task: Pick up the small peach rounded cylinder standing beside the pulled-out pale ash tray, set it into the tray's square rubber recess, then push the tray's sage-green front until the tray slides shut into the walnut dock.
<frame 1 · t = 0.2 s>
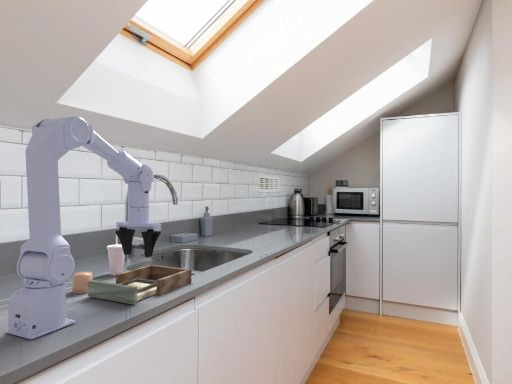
hand: (137, 255, 96), 10 cm above the counter, fingers open, 7 cm apart
tray: (131, 285, 93), point 2 cm above the counter, slide at 8.0 cm
dock: (153, 285, 101), on the counter
smoothie: (116, 274, 115), on the counter
peach rounded cylinder: (82, 291, 95), on the counter
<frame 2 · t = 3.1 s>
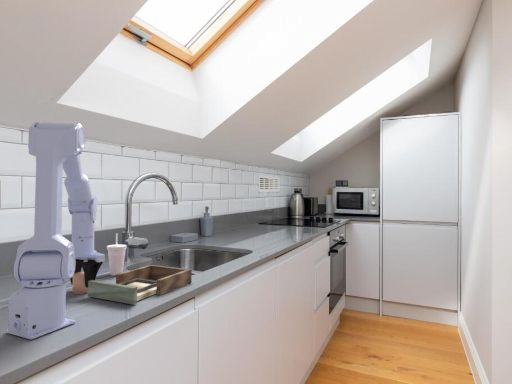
hand: (82, 285, 95), 2 cm above the counter, fingers closed on peach rounded cylinder, 5 cm apart
peach rounded cylinder: (82, 291, 95), on the counter, touching gripper
everything else where it was.
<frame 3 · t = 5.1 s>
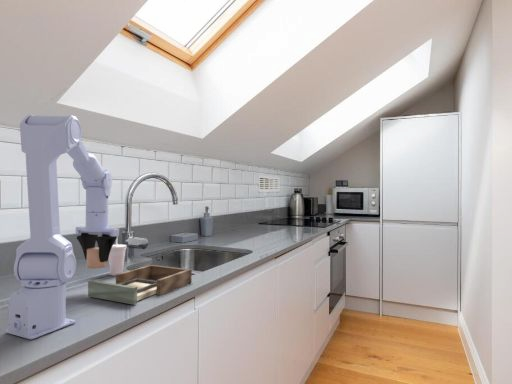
hand: (96, 260, 95), 9 cm above the counter, fingers closed on peach rounded cylinder, 5 cm apart
peach rounded cylinder: (96, 266, 95), point 7 cm above the counter, touching gripper
everything else where it was.
when the fingers open (4 cm above the counter, at t = 7.5 s): peach rounded cylinder drops 1 cm, resting on tray.
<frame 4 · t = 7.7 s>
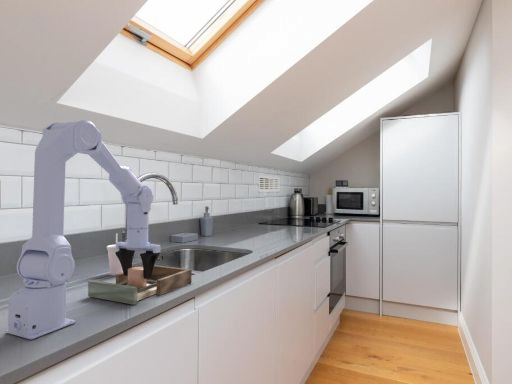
hand: (137, 276, 95), 4 cm above the counter, fingers open, 7 cm apart
tray: (131, 285, 93), point 2 cm above the counter, slide at 8.0 cm, touching peach rounded cylinder
peach rounded cylinder: (137, 286, 95), point 1 cm above the counter, touching tray
everything else where it was.
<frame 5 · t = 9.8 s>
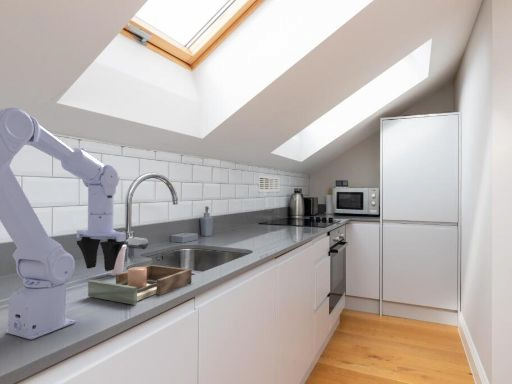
hand: (100, 268, 84), 9 cm above the counter, fingers open, 6 cm apart
nothing on the counter moved.
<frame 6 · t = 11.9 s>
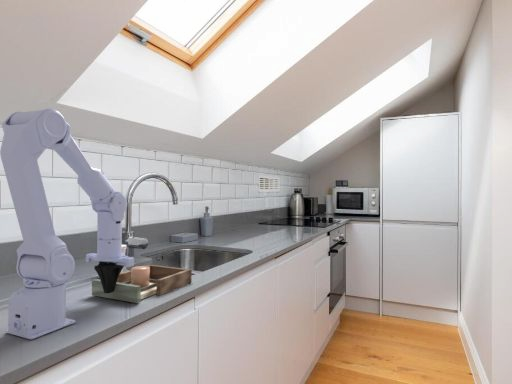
hand: (109, 292, 86), 2 cm above the counter, fingers closed, pressing on tray
tray: (134, 284, 94), point 2 cm above the counter, slide at 6.8 cm, touching gripper, peach rounded cylinder
peach rounded cylinder: (140, 285, 96), point 1 cm above the counter, touching tray
everything else where it was.
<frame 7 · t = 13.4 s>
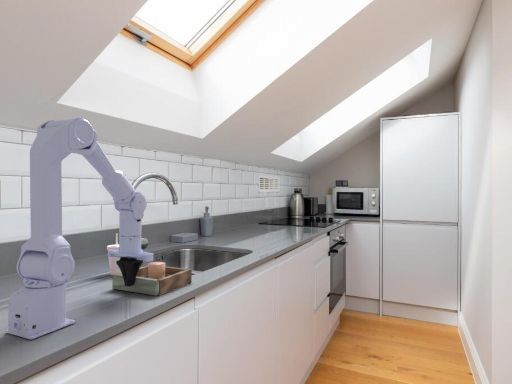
hand: (129, 285, 93), 2 cm above the counter, fingers closed, pressing on tray
tray: (151, 278, 101), point 2 cm above the counter, slide at -0.2 cm, touching gripper, peach rounded cylinder
peach rounded cylinder: (156, 279, 103), point 1 cm above the counter, touching tray
everything else where it was.
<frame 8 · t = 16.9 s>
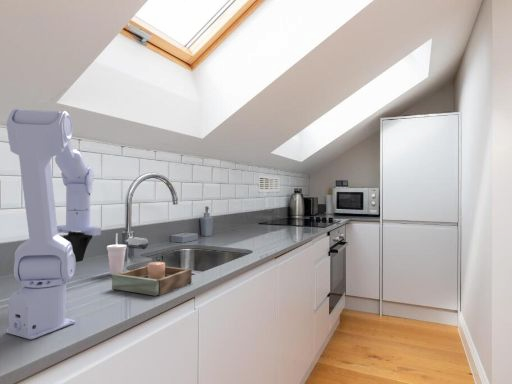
hand: (77, 261, 90), 9 cm above the counter, fingers closed
tray: (151, 278, 101), point 2 cm above the counter, slide at 0.0 cm, touching peach rounded cylinder
everything else where it was.
at the end: tray slide at 0.0 cm; peach rounded cylinder inside the target area on the dock (0.2 cm from its centre), point 1.4 cm above the dock's base; peach rounded cylinder tilted 0° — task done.
